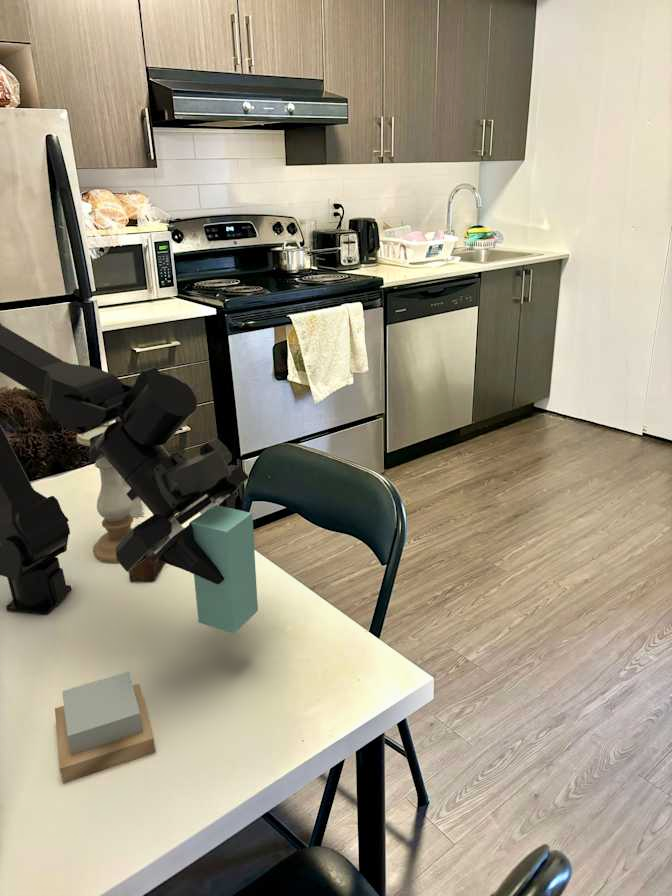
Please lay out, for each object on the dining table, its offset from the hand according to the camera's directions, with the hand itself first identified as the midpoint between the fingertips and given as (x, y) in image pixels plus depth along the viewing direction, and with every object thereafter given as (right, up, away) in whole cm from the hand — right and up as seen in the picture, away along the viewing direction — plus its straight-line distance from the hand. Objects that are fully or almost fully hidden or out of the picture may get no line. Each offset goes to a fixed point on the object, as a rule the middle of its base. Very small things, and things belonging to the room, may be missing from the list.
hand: (234, 569), depth 77 cm
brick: (-17, -4, +28) cm, 33 cm away
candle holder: (-23, -3, +32) cm, 39 cm away
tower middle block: (-13, -15, -5) cm, 21 cm away
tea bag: (-25, +2, +45) cm, 51 cm away
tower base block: (-13, -17, -5) cm, 22 cm away
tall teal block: (-1, -6, +3) cm, 7 cm away
